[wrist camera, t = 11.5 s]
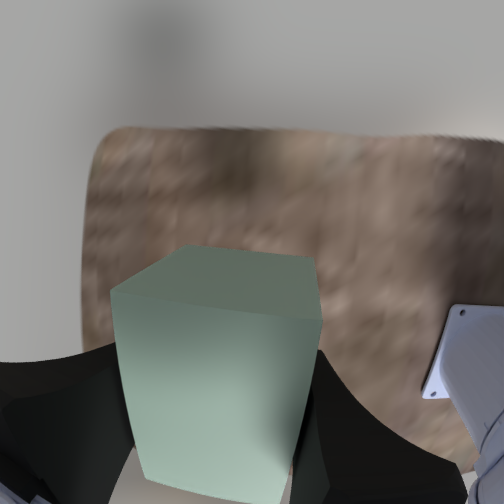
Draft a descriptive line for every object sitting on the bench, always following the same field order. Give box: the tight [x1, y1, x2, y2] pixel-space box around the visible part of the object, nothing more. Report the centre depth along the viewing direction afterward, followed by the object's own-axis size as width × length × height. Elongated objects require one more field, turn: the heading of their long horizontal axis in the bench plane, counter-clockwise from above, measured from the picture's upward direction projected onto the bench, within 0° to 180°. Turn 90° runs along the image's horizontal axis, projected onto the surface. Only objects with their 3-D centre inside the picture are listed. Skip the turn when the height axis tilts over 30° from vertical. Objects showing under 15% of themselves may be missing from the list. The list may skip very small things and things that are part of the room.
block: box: [110, 245, 323, 504], centre depth 9 cm, size 4×7×5 cm, turn 176°
